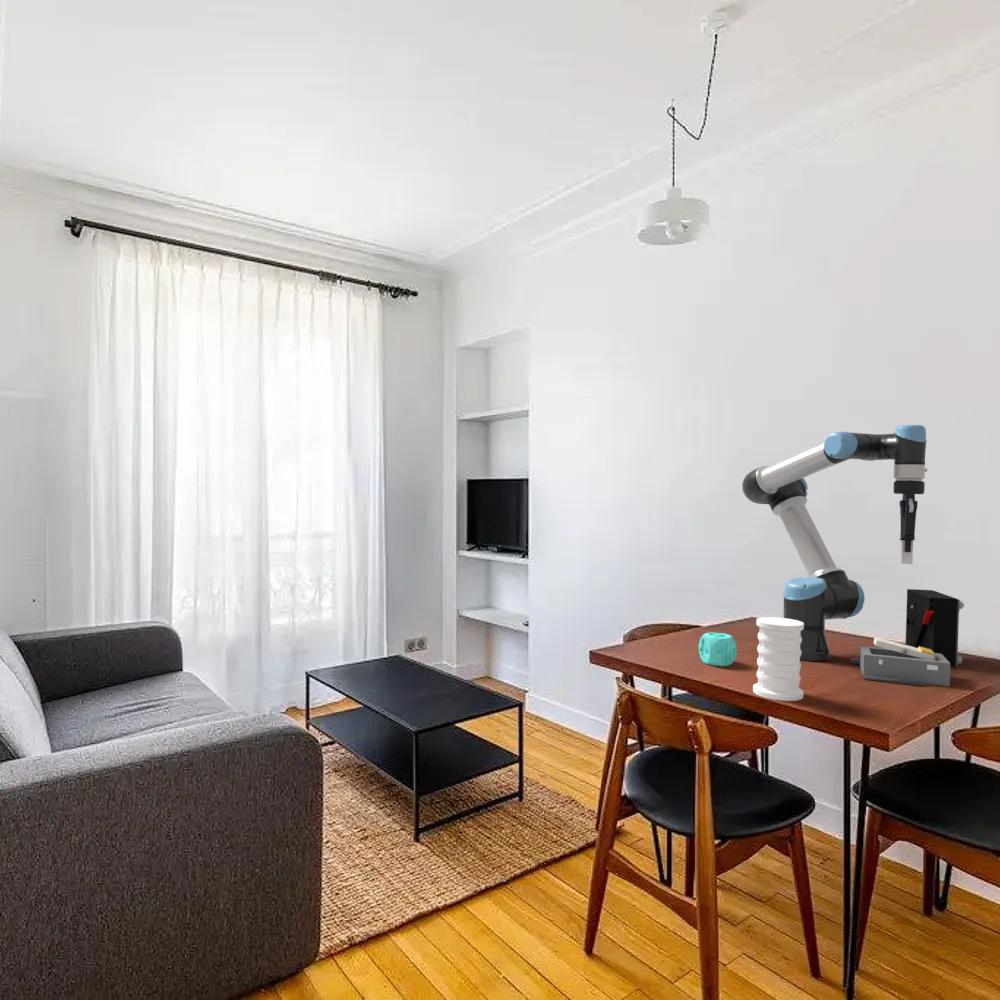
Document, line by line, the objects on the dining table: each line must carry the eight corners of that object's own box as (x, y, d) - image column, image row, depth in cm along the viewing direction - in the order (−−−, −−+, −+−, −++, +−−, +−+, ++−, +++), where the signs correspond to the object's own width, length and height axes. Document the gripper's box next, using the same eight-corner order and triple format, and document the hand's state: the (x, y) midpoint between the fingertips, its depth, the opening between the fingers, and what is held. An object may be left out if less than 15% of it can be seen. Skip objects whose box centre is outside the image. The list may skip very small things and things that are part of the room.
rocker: (875, 646, 190) (877, 638, 189) (873, 641, 195) (875, 634, 195) (933, 662, 184) (935, 654, 184) (929, 656, 190) (931, 649, 190)
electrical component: (964, 668, 200) (966, 599, 199) (925, 665, 202) (927, 597, 201) (938, 654, 217) (940, 590, 217) (902, 651, 219) (904, 589, 219)
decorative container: (767, 684, 179) (769, 615, 179) (811, 695, 170) (814, 622, 170) (744, 692, 171) (746, 620, 171) (789, 704, 163) (791, 628, 162)
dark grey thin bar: (864, 679, 185) (864, 676, 185) (864, 678, 186) (864, 675, 186) (925, 686, 180) (925, 683, 180) (924, 685, 180) (924, 682, 180)
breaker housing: (863, 676, 188) (864, 654, 188) (859, 666, 199) (860, 645, 199) (949, 686, 180) (950, 663, 180) (940, 675, 191) (941, 653, 191)
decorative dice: (710, 666, 196) (711, 638, 196) (698, 659, 204) (698, 632, 204) (736, 666, 197) (737, 638, 197) (723, 659, 205) (724, 632, 205)
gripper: (928, 480, 187) (925, 566, 188) (920, 480, 199) (918, 562, 200) (896, 479, 190) (894, 564, 191) (891, 480, 202) (888, 560, 203)
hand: (906, 563), depth 195 cm, fingers closed
